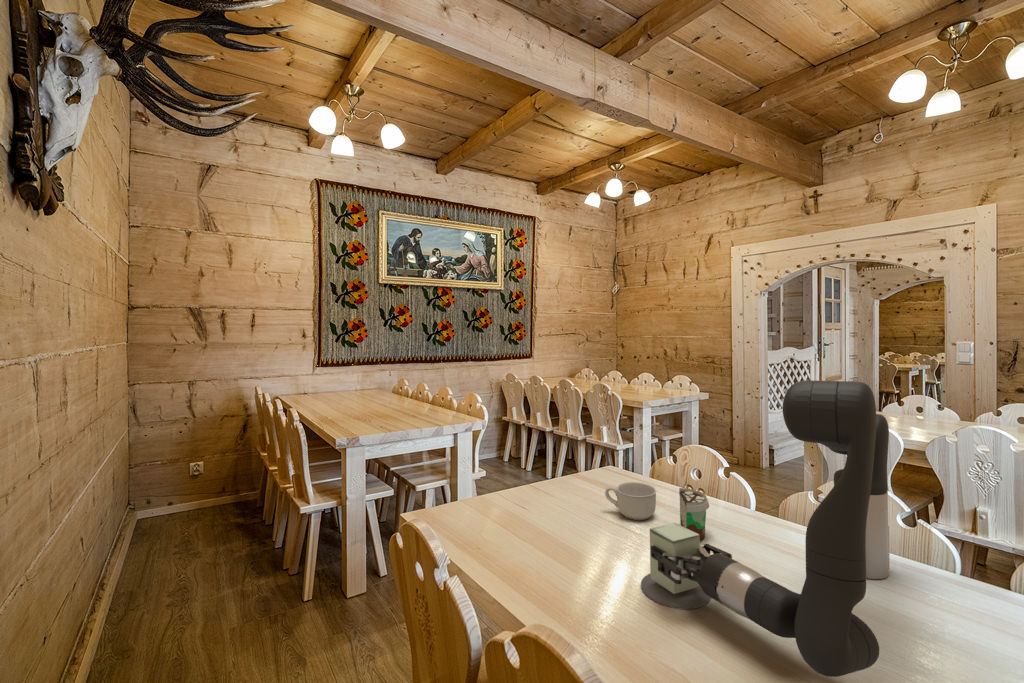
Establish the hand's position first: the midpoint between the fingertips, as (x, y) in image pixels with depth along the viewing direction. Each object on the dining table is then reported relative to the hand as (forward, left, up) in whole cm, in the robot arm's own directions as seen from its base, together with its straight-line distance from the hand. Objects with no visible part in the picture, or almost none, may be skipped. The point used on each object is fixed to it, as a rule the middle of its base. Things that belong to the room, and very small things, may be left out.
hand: (666, 547), depth 95 cm
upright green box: (0, +2, -6) cm, 6 cm away
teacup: (-17, -33, -8) cm, 38 cm away
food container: (-23, -15, -8) cm, 29 cm away
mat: (0, +2, -8) cm, 8 cm away
